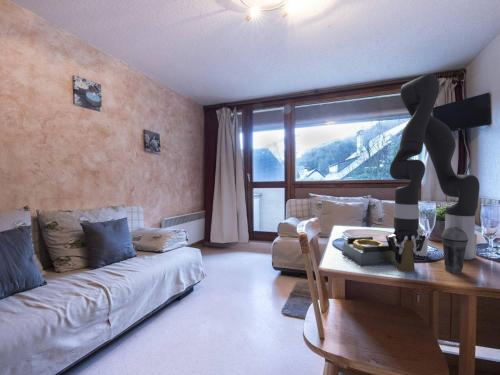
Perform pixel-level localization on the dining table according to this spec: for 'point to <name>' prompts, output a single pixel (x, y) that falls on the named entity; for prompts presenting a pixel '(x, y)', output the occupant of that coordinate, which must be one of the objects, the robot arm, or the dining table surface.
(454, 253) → the beverage cup
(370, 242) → the grey peg socket base
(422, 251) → the eye dropper bottle
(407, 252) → the cork
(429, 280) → the dining table surface
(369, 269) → the dining table surface
